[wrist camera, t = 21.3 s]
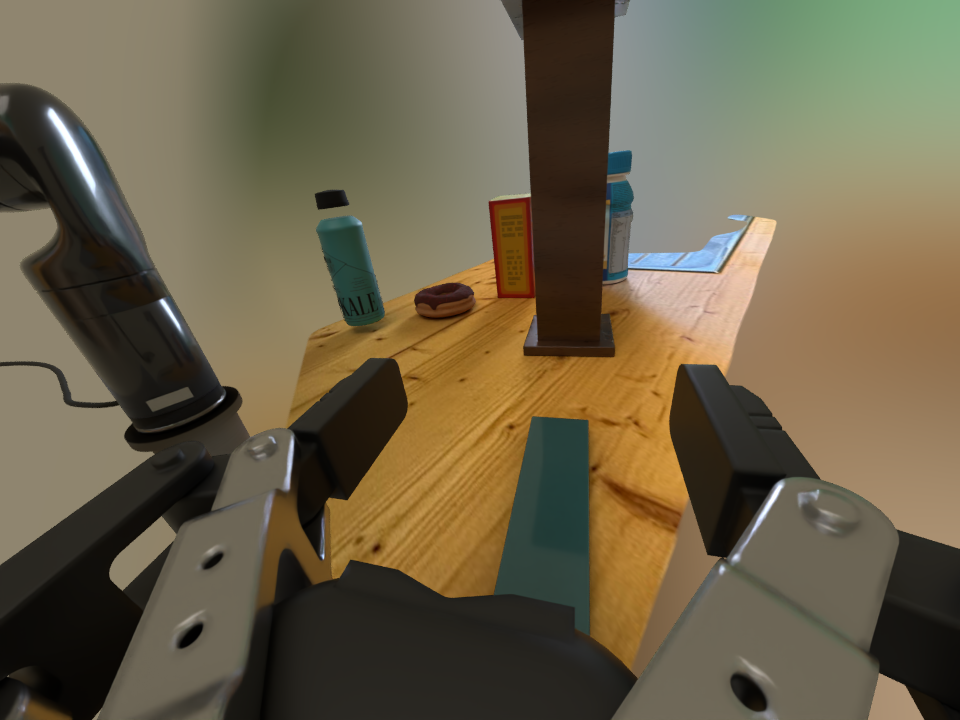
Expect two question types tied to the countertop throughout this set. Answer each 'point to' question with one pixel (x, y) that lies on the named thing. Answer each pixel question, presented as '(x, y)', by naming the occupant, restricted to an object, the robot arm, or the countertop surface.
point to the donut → (444, 300)
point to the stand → (568, 167)
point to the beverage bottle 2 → (617, 217)
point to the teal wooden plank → (551, 519)
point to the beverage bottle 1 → (349, 262)
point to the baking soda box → (513, 245)
